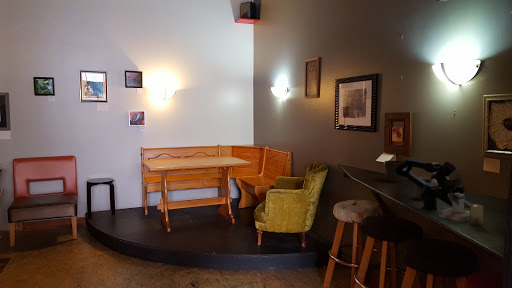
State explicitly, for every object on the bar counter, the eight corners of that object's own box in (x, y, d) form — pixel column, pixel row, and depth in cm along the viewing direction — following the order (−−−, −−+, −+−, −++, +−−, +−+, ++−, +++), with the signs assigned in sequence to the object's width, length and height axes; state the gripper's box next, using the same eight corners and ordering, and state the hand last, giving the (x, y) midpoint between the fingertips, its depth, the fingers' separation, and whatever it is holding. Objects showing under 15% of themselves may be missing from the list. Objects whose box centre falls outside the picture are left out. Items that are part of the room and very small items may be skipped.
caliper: (454, 202, 250) (455, 192, 250) (456, 202, 250) (456, 192, 250) (475, 210, 230) (476, 200, 229) (477, 210, 230) (478, 200, 230)
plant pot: (379, 180, 316) (380, 161, 314) (393, 179, 322) (394, 159, 320) (393, 184, 302) (394, 163, 301) (407, 182, 309) (408, 162, 307)
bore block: (438, 216, 218) (438, 211, 218) (451, 212, 226) (452, 207, 226) (463, 222, 207) (464, 217, 206) (477, 218, 215) (477, 212, 214)
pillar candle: (431, 200, 253) (432, 177, 252) (415, 199, 255) (416, 176, 254) (428, 197, 263) (429, 174, 261) (412, 196, 264) (413, 174, 263)
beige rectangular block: (466, 224, 204) (467, 205, 203) (472, 222, 208) (473, 203, 207) (478, 227, 200) (479, 207, 199) (484, 225, 203) (485, 206, 202)
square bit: (451, 216, 217) (452, 193, 216) (457, 215, 219) (458, 193, 218) (458, 218, 214) (459, 195, 212) (463, 218, 215) (464, 194, 214)
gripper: (439, 174, 215) (455, 198, 206) (463, 172, 222) (480, 195, 213) (427, 185, 223) (442, 209, 214) (451, 182, 230) (466, 206, 221)
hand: (458, 205), depth 216 cm, fingers open, 9 cm apart
